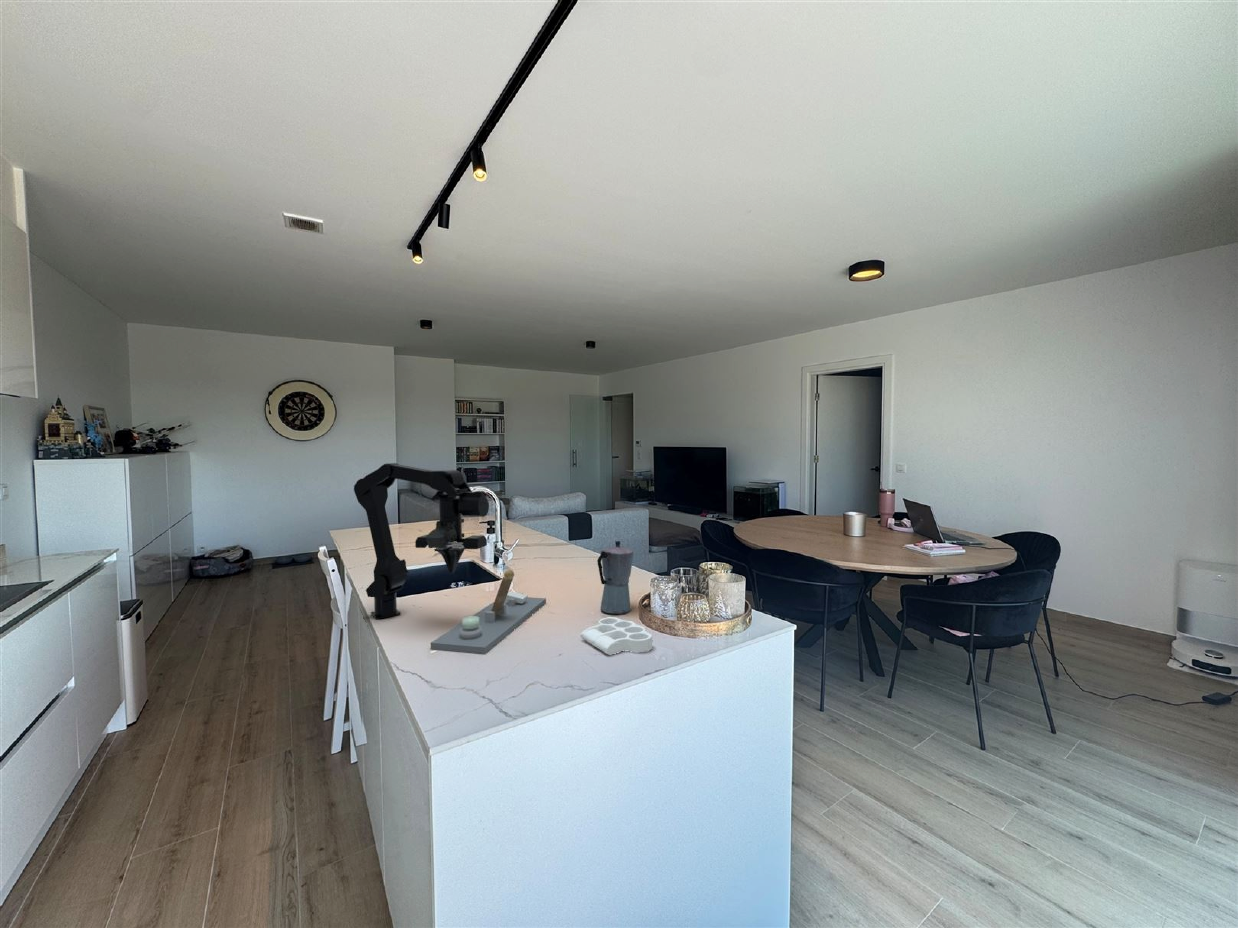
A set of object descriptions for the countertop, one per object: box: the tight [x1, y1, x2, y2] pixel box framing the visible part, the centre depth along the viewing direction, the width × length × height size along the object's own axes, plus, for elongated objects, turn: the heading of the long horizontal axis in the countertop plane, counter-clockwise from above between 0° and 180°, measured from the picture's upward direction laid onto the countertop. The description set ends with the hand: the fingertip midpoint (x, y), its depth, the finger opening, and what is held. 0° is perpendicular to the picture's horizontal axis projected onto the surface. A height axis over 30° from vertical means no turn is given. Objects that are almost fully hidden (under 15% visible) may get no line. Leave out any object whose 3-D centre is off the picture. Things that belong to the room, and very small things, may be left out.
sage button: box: [461, 615, 479, 629], centre depth 120 cm, size 4×4×2 cm
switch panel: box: [430, 592, 547, 655], centre depth 133 cm, size 14×38×4 cm, turn 167°
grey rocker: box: [506, 590, 529, 604], centre depth 146 cm, size 6×4×1 cm, turn 77°
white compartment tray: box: [580, 616, 653, 656], centre depth 120 cm, size 3×18×15 cm
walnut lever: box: [491, 569, 515, 617], centre depth 132 cm, size 3×4×14 cm, turn 167°
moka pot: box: [596, 540, 635, 615], centre depth 142 cm, size 10×15×20 cm, turn 148°
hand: (452, 572), depth 135 cm, fingers closed
